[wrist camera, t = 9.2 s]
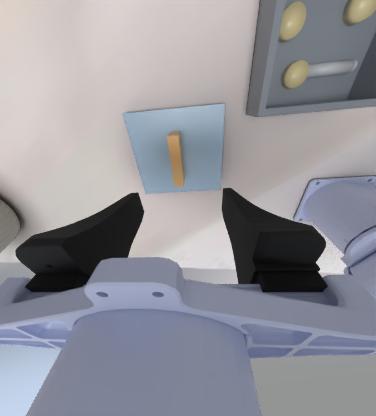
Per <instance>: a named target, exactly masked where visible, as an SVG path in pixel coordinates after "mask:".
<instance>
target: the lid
mask: <svg viewBox="0 0 376 416" xmlns="http://www.w3.org/2000/svg"><path fill="white" fill-rule="evenodd" d="M224 114H225V103H222V104H212V105H202V106H192V107H182V108H172V109H162V110H152V111H142V112H132V113H123V116H124V120H125V123H126V127H127V130H128V134H129V137H130V141H131V144H132V148H133V151H134V155H135V158H136V162H137V165H138V169H139V172H140V176H141V179H142V183H143V186H144V190H145V193H146V194H148V193H165V192H183V191H200V190H218V189H221V173H222V154H223V134H224Z"/></svg>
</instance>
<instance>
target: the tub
mask: <svg viewBox="0 0 376 416" xmlns="http://www.w3.org/2000/svg"><path fill="white" fill-rule="evenodd" d="M373 106H376V0H260V4H259V12H258V20H257V28H256V36H255V44H254V53H253V61H252V69H251V77H250V85H249V93H248V101H247V109H246V114H247V115H251V116H256V117H263V116H274V115H285V114H296V113H307V112H318V111H329V110H340V109H351V108H362V107H373Z"/></svg>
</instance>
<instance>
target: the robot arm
mask: <svg viewBox="0 0 376 416" xmlns="http://www.w3.org/2000/svg"><path fill="white" fill-rule="evenodd" d="M317 182H318V183H317ZM222 213H223V218H224V222H225V225H226V228H227V231H228V234H229V237H230V241H231V244H232V249H233V254H234V260H235V265H236V271H237V277H238V284H210V283H205V282H199V281H194V280H188V279H184V277H183V273H182V270H181V268H180V266H179V265H178V264H177V263H176V262H174V261H172V260H170V259H167V258H160V257H143V258H128V255H129V251H130V248H131V245H132V243H133V240H134V238H135V236H136V233H137V231H138V229H139V227H140V224H141V222H142V218H143V215H144V210H143V207H142V203H141V200H140V197H139V194H138V193H130V194H128V195H127V196H125V197H123V198H122V199H120V200H119V201H117V202H115V203H114V204H112V205H110V206H109V207H107V208H105V209H104V210H102V211H100V212H98V213H96V214H94V215H92V216H90V217H88V218H85V219H83V220H80V221H78V222H75V223H73V224H70V225H67V226H64V227H61V228H58V229H55V230H51V231H47V232H44V233H40V234H36V235H33V236H31V237H30V238H29V239H28V240H26V241H25V242H24V243H23V244H21V245H20V246H19V247H18V248H17V249H16V251H15V252H16V257H17V258H18V260H20V261H21V262H22V263H23V264H24V265H25V266H26V267H28V268H29V269H30V270H31V271H33V272H34V273H35V274H36V275H35V276H34V277H33V278H32V279H29V278H7V279H6V280H5V281H4V282H3V283H2V284H1V285H0V345H10V346H26V347H38V348H48V349H57V350H61V351H60V353H59V355H58V357H57V359H56V361H55V363H54V365H53V367H52V368H51V370H50V372H49V374H48V376H47V377H46V379H45V381H44V383H43V385H42V387H41V389H40V391H39V392H38V394H37V396H36V398H35V400H34V402H33V403H32V405H31V407H30V409H29V411H28V413H27V415H26V416H262V415H261V410H260V405H259V401H258V396H257V391H256V387H255V382H254V378H253V373H252V368H251V363H250V359H258V358H281V357H306V356H370V355H373V354H375V353H376V176H363V177H346V178H329V179H314V180H311V181H310V182H309V184H308V187H307V189H306V191H305V194H304V196H303V198H302V201H301V203H300V205H299V208H298V210H297V212H296V214H295V217H294V221H291V220H288V219H285V218H282V217H279V216H277V215H274V214H272V213H269V212H267V211H265V210H263V209H261V208H259V207H257V206H255V205H254V204H252V203H251V202H249V201H247V200H246V199H245V198H243V197H242V196H241V195H239V194H238V193H237V192H236V191H234V190H233V189H232V188H223V198H222ZM306 221H312V222H313V223H314V224H315V225H316V226H317V227H318V228H319V229H320V230H321V231H322V232H323V233H324V234H325V235H326V236H327V238H328V239H329V240H330V241H331V242H332V243H333V244H334V245H335V246H336V247H337V248H338V249H339V250H340V251H341V252H342V253H343V254H344V256H343V257H342V258H341V260H342V261H343V262H344V263H345V264H346V265H347V267H345V269H344V275H327V276H324V277H321V275H320V274H319V273H318V271H319V270H320V268H319V266H318V265H317V264H316V261H317V260H318V258H319V257H320V256H321V254H322V253H323V251H324V249H325V247H326V241H325V239H324V238H323V237H322V236H321V234H320V233H319V232H318V231H317V230H316V229H315V228H314V227H313V226H310V225H306V224H302V223H298V222H306Z"/></svg>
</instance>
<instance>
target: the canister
mask: <svg viewBox="0 0 376 416" xmlns="http://www.w3.org/2000/svg"><path fill="white" fill-rule="evenodd" d="M19 228H20V221H19V220H18V217H17V216H16V213H15V212H13V209H11V208H10V207H9V205H7V204H6V203H5V202H4V201H2V200H1V199H0V253H1V252H2V251H3V250H4V249H5V248H6V247H7V246H8V245H9V244H10V243H11V242H12V241H13V240H14V238H15V237H16V235H17V234H18V232H19Z"/></svg>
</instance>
